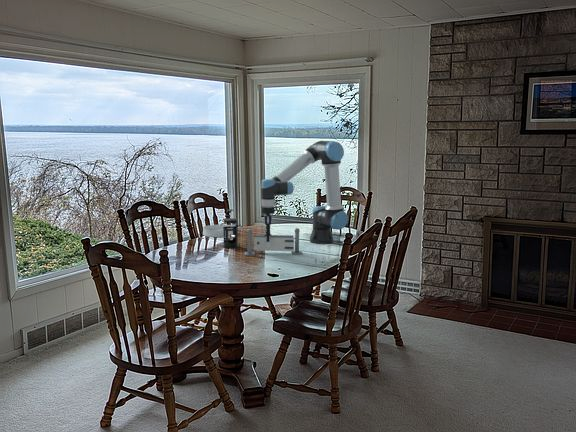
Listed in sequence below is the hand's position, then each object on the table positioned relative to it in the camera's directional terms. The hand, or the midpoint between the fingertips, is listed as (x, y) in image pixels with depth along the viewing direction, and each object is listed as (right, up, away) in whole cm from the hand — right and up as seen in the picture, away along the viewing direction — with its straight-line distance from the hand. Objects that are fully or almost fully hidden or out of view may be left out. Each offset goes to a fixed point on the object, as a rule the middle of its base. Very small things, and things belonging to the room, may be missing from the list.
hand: (267, 246), depth 307 cm
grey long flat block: (+3, -2, +4) cm, 6 cm away
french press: (-23, -1, +21) cm, 32 cm away
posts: (+3, -4, +2) cm, 6 cm away
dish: (-36, +5, +60) cm, 70 cm away
